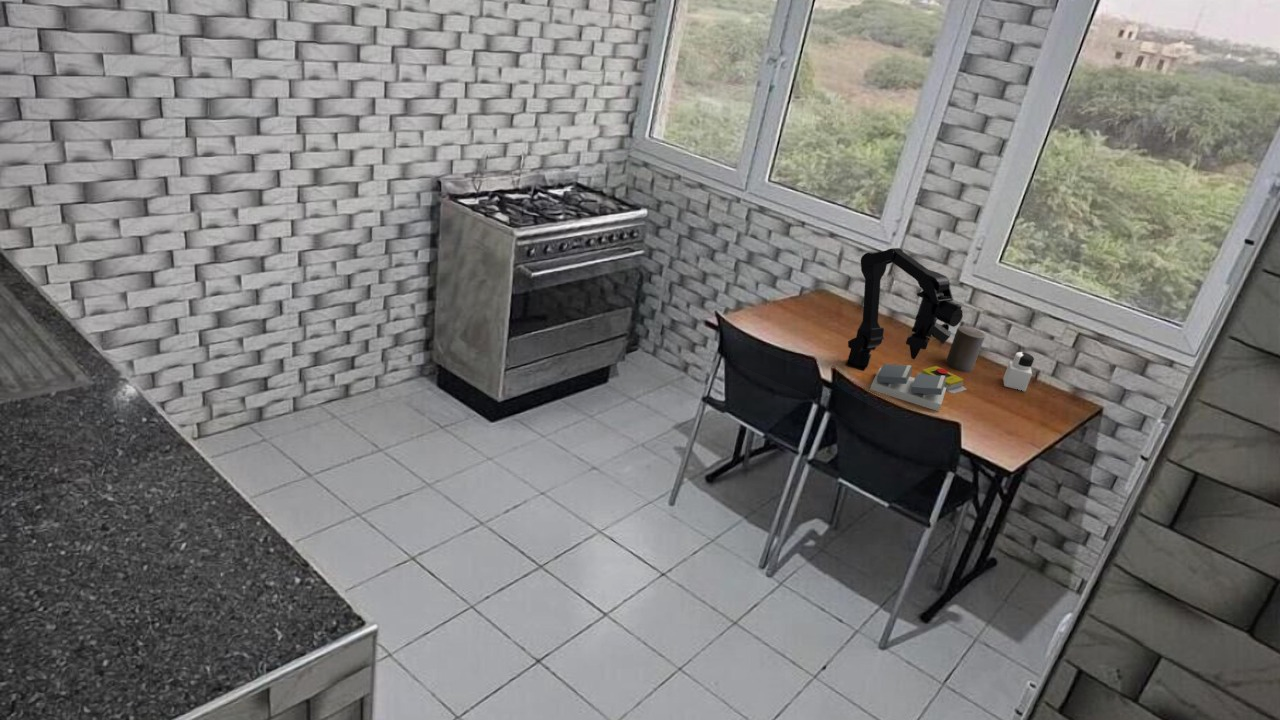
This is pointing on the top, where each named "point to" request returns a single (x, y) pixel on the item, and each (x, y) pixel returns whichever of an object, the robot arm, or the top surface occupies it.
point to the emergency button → (952, 381)
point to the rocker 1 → (894, 373)
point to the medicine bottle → (1019, 371)
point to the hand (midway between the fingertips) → (913, 358)
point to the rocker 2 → (928, 384)
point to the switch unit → (908, 393)
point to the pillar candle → (965, 348)
